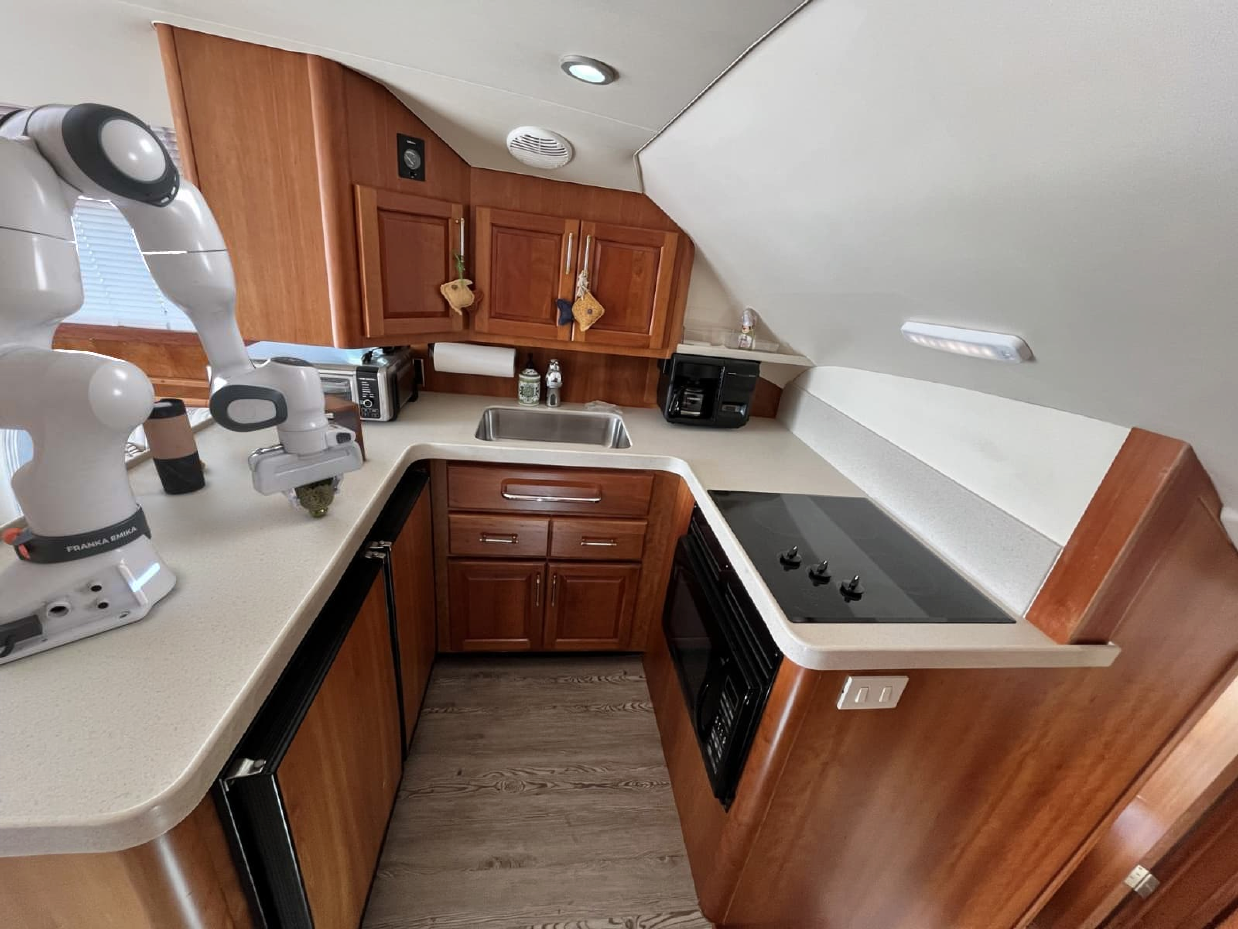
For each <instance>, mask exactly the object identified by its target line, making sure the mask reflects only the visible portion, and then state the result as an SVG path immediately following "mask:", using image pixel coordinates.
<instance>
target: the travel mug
mask: <svg viewBox="0 0 1238 929" xmlns="http://www.w3.org/2000/svg"><path fill="white" fill-rule="evenodd" d="M141 426H142V429H143V433H144V436H145V439H146V442H147V445H148V448H149V449H148V450H149V452H150V455H151V458H152V461H153V464H154V466H155V469H156V471H157V475H158V477H159V480H160V483H161V485H162V488H163V490H164V492H165V494H167V495H175V496H177V495H186V494H191V493H194V492H197V491H199V490H201V489H203V488H204V487H205V486H206V480H205V479H206V478H205V476H204V470H202V466H201V462H200V460H201V458H200V454H199V450H198V446H197V442H196V439H195V436H194V432H193V429H192V426H191V423H190V419H189V414H188V411H187V408H186V405H185V401H184V400H183V399H181V398H175V397H164V398H161V399H159V400H158V401H157V400H156V401H155V403H154V407H153V410H152V412H151V414H150V415H149V417H148V418H147V419H146V420H145V422H143V423H142V424H141Z"/></svg>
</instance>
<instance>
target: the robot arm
mask: <svg viewBox="0 0 1238 929" xmlns="http://www.w3.org/2000/svg"><path fill="white" fill-rule="evenodd" d="M81 199H82V200H92V201H93V200H94V201H99V202H109V204H111V205H112V206H113V207H114V208H115V209H116V210H117V211H118V212H119V213H120V214H121V215H122V217H123V218H124V219H125V220H126V222H127V224H128V225H129V226H130V228H131V230H132V234H133V235H134V239H135V242H136V245H137V248H138V249H139V250H138V251H139V252H140V255H141V256H142V260H143V262H144V264H145V266H146V268H147V270H148V273H149V274H150V276H151V277H152V279H153V281H154V283H155V284H156V285H157V287H158V289H159V290H160V292H161V293H162V295H163V296H164V298H166V299H167V300H168V301H169V302H170V303H172V304H173V305H174V306H176V308H178V309H179V310H180V311H181V312H183V313H184V314H185V316H186V317H187V318H188V320H190V322H191V323H192V325H193V327H194V328H195V331H196V334H197V336H198V337H199V341H200V342H201V345H202V347H203V350H204V352H205V354H206V357H207V359H208V362H209V364H210V370H211V375H210V380H209V387H208V388H209V391H208V392H209V399H208V410H209V414H210V416H211V417H212V419H213V420H214V421H215V423H217V424H218V425H219V426H220V427H222V428H224V429H226V430H229V431H232V432H235V433H251V432H257V431H261V430H264V429H265V430H266V429H270V428H273V427H276V430H277V431H276V432H277V436H278V441H279V443H277V444H273V445H272V444H271V445H269V446H266V447H258V448H256V449H254V451H252V452H251V453H250V454H249V455H248V457H247V462H248V463H247V464H248V467H249V470H251V479H252V486H253V489H254V490H255V491H256V492H257V493H259V494H260V495H263V496H265V497H266V496H271V495H275V494H278V493H281V494H282V495H283V496H284V497H286V498H287V499H288V504H289V506H290V507H291V508H292V509H294V508H297V507H300V506H301V503H300V498H298V497H297V496H296V495H294V496H293V495H292V494H293V489H294V488H296V487H299V486H303V485H306V484H310V483H313V482H317V481H320V480H324V479H327V478H332V477H333V478H334V496H335V495H339V494H341V485H342V483H343V481H344V479H345V476H344V475H345V474H348V473H351V472H355V471H358V470H361V469H362V467H363V465H364V462H363V459H362V454H361V450H360V447H359V445H358V443H357V442H355V441H354V440H355V439H356V435H355V433H354V432H353V431H351V430H350V429H347V428H345V427H342V426H339V425H332V424H329V419H328V417H327V414H325V411H324V408H325V397H324V396H325V391H324V387H323V382H322V379H321V375H320V372H319V371H318V368H317V367H316V366H314V364H313V363H311V362H309V361H308V360H305V359H302V358H298V357H292V356H274V357H270V358H269V359H268V360H267V361H265V362H264V363H263V364H262V365H260V366H257V367H256V365H255V364H254V363H253V362H252V359H251V358H250V355H249V353H248V351H247V348H246V345H245V342H244V339H243V336H242V334H241V331H240V328H239V326H238V321H237V316H236V299H237V286H236V279H235V272H234V268H233V264H232V260H231V257H230V254H229V250H228V247H227V245H226V242H225V240H224V237H223V234H222V232H221V230H220V227H219V225H218V222H217V221H216V219H215V216H214V214H213V212H212V210H211V209H210V206H209V205H208V202H207V201H206V200H205V197H204V196H203V194H202V193H201V190H199V188H198V187H197V186H195V185H194V184H193V183H192V182H191V181H189V180H188V179H186V178H184V177H182V176H180V172H179V169H178V168H177V166H176V165H175V164H174V162H173V159H172V157H171V155H170V153H169V151H168V149H167V148H166V147H165V144H164V143H163V142H162V141H161V139H160V138H159V137H158V135H157V134H156V133H155V132H154V131H153V129H152V128H151V127H149V125H147V124H146V123H145V122H144V121H143V120H141V119H140V118H139V117H137V116H135V115H134V114H132V113H130V112H128V111H126V110H123V109H120V108H118V107H115V106H111V105H107V104H102V103H93V102H84V103H79V104H63V103H46V104H41V105H36V106H32V107H29V108H25V109H23V108H22V109H15V110H12V111H10V112H7V113H6V114H4V115H3V116H2V117H0V430H8V431H9V430H10V431H11V430H12V431H25V432H26V433H28V435H29V436H30V438H31V441H32V446H33V447H32V448H33V450H32V451H33V452H32V459H30V460H28V461H27V462H25V463H24V464H22V465H21V466H20V467H19V468H17V469H16V470H15V472H14V473H13V474H12V476H11V479H10V487H11V490H12V492H13V494H14V497H15V499H16V502H17V503H18V506H19V507H20V510H21V512H22V514H23V517H24V519H25V521H26V523H27V525H28V527H27V528H26V529H25V530H24V531H23V529H21V528H20V529H19V528H18V527H11V528H7V529H6V530H4V531H3V533H1V539H3V541H4V543H5V544H7V545H9V546H12V547H13V550H14V552H15V554H16V556H17V558H15V560H13V561H12V562H11V563H10V564H9V565H7V566H6V567H5V568H4V569H3V570H1V571H0V665H2V664H3V665H4V664H6V663H9V662H12V661H16V660H19V659H21V658H22V659H23V658H25V657H29V656H31V655H35V654H37V653H41V652H44V651H47V650H51V649H53V648H56V647H58V646H63V645H65V644H68V643H72V642H74V641H77V640H80V639H84V638H87V637H90V636H94V635H97V634H100V633H103V632H105V631H109V630H112V629H115V628H118V627H121V626H124V625H128V624H131V623H134V622H137V621H139V620H141V619H143V618H144V617H146V616H147V615H148V613H149V612H150V610H151V609H152V607H153V606H154V605H155V604H156V603H158V602H159V601H160V600H162V599H163V598H164V597H165V596H167V595H168V594H169V593H170V592H171V591H172V590H173V588H174V587H175V586H176V583H177V576H176V574H175V573H174V572H173V571H172V569H170V567H169V566H168V565H167V564H166V563H165V561H164V560H163V558H162V557H161V555H160V554H159V551H158V549H157V548H156V546H155V545H154V542H153V540H152V533H151V531H152V530H151V527H150V523H149V521H148V518H147V515H146V512H145V510H143V507H142V506H140V504H139V503H138V502H137V500H136V498H135V495H134V491H133V489H132V485H131V481H130V478H129V474H128V471H127V467H126V450H127V449H126V448H127V444H128V441H129V439H130V437H131V435H132V433H133V432H134V431H135V430H136V429H137V428H139V427H140V426H142V423H143V422H145V420H146V419H147V418H148V417H149V415H150V414H151V412H152V410H153V407H154V403H155V402H156V400H155V399H156V395H155V389H154V386H153V384H152V381H151V380H150V378H149V377H148V375H147V374H146V373H145V372H144V370H142V369H141V368H140V367H138V365H135V364H134V363H132V362H129V361H126V360H123V359H118V358H114V357H111V356H109V355H103V354H100V353H95V352H90V351H83V350H82V351H81V350H68V349H67V350H65V349H52V348H53V347H52V346H53V345H52V344H53V340H54V336H55V334H56V331H57V328H58V327H59V325H60V324H62V323H61V322H62V321H64V320H65V319H66V318H69V317H71V316H73V315H74V314H76V313H78V312H79V311H80V310H81V308H82V307H83V305H84V302H85V293H84V292H85V291H84V287H83V279H82V272H81V271H82V270H81V264H80V256H79V250H78V243H77V236H76V232H75V227H74V223H73V218H74V217H73V216H74V209H75V206H76V203H77V201H78V200H81ZM301 507H302V506H301Z"/></svg>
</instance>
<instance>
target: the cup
mask: <svg viewBox="0 0 1238 929" xmlns="http://www.w3.org/2000/svg"><path fill="white" fill-rule="evenodd" d="M334 479H335V478H334V477H331V478H327V479H324V480H320V481H317V482H313V483H310V484H306V485H303V486H299V487H296V488H293V490H294V492H295V496H297V497H298V498H300V503H301V507H302V508H304V509H305V510H307V511H308V512H307V513H308V514H309V515H310V516H311V517H321V516H324V515H326V514H327V513H328V512H329V509H330V508H329V506H330V505H331V504H333V501H334V498H335V495H334Z"/></svg>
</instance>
